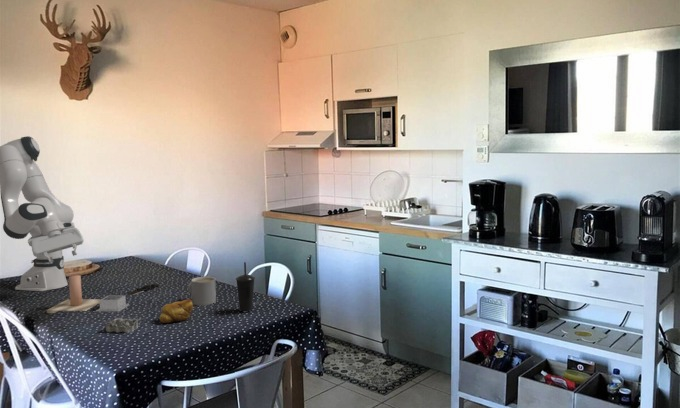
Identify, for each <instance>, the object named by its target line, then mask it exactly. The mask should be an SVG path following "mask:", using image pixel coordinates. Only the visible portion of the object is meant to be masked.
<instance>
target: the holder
mask: <svg viewBox="0 0 680 408" xmlns="http://www.w3.org/2000/svg"><path fill="white" fill-rule="evenodd" d="M126 300H127V299H126V295H106V296H105V297H103V298H101V300H100V303H99V308H98V309H96V310H95V312H121V311H123V310H124V309H126V308H127V307H128V306H129V305H131V304H129V303H126V302H127V301H126Z"/></svg>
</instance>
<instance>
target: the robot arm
mask: <svg viewBox="0 0 680 408" xmlns="http://www.w3.org/2000/svg"><path fill="white" fill-rule="evenodd" d="M40 151H41V149H40V146H39V144H38V142H37V141H36V140H35V139H34V138H33V137H32V136H22V137H20V138H17V139H13V140H11V141H8V142H7V143H4V144H2V145H0V200H1V207H2V212H3V219H4V220H3V225H2V229H3V232H4V233H5V234H6V236H8V237H10V238H12V239H14V240H21V239H25V238H26V237H27V236H28V235H29V234H30V235H31V236H30V237H29V238H28V240H27V243H28V246H29V247H31V251H32V255H33V257H35V258H34V259H33V260H31V261H30V263H31V264H32V265H33V266H32V267H30V268H28V270H26V271H25V272H24V273H23V274H22V275H21V277H20V283H18V285H16V286H15V288H14V290H19V291H31V292H32V291H33V292H44V291H49V290H50V291H51V290H55V289H61V288H64V287H66V286H69V282H68V280H67V278H66V274H65V259H64V258H65V257H64V255H63V250H67V249H70V248H72V249H73V250H71V254H72V256H73V257H75V256H77V254H78V253H77V251H76V250H77V248H78V247H77V246H80V245H83V243H84V238H83V235H82V233H81V232H80V230H79V229H78V228H77V227H76V226H75V223H74V222H73V220H74V214H75V213H74V210H73V209H72V207H71V206H69V205H68V204H65V203H64V202H62V201H61V200H60V199H58V198H57V196H55V195H54V194H53V193H52V191H51V189H50V187H49V185H48V183H47V181H46V179H45V177H44V175H43V173H42V171H41V169H40V168H39V166H38V164H37V163H36V162H37V161H38V158H39V156H40ZM21 192H22V195H23V197H24V199H25V200H26V201H27V202H24V203H21V204H20V203H19V197H20V193H21Z"/></svg>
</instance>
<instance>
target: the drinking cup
mask: <svg viewBox="0 0 680 408" xmlns="http://www.w3.org/2000/svg"><path fill="white" fill-rule="evenodd" d="M243 264H244V265H243V267H244V269H243V270H244V273H243V274H241V275H239V276H237V277H235V280H236V289H237V297H238V303H239V304H238V305H239V311H240V310H241V311H249V310H251V309H252V310H253V301H254V289H255V287H254V286H255V279H256V277H255V276H254V275H251V274H247V262H243Z"/></svg>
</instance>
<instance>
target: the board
mask: <svg viewBox="0 0 680 408" xmlns="http://www.w3.org/2000/svg"><path fill="white" fill-rule="evenodd" d="M101 299H102V298H101ZM101 299H99V298H98V299H97V298H96V299H91V298H89V299H88V298H85V299H83V298H82V305H79V306H71V305H70V298H67V299H65V300H64V301H61V302H60V303H58V304H56V305H53V306H52V307H49V308H48V309H46V314H56V313H57V312H87V311H88V310H90V309H91V308H93V307H95V306H96V305H98V304H100V300H101Z"/></svg>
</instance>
